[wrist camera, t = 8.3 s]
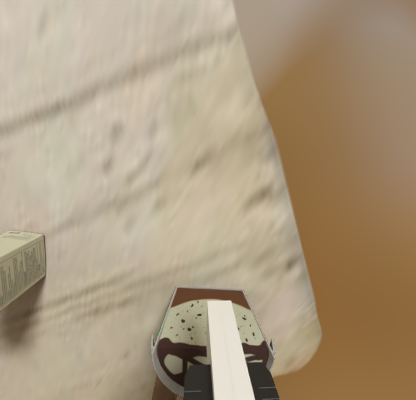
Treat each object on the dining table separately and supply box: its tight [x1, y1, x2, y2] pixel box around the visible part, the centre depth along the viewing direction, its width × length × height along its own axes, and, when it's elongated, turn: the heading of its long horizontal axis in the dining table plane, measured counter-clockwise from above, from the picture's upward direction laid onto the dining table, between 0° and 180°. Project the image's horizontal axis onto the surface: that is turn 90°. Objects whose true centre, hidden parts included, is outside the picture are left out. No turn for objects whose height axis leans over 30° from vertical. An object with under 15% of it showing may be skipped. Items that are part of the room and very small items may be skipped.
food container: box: [151, 286, 275, 398], centre depth 24 cm, size 12×6×10 cm, turn 86°
